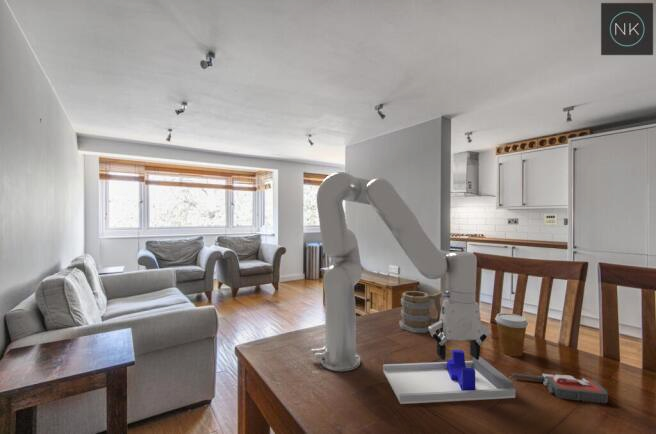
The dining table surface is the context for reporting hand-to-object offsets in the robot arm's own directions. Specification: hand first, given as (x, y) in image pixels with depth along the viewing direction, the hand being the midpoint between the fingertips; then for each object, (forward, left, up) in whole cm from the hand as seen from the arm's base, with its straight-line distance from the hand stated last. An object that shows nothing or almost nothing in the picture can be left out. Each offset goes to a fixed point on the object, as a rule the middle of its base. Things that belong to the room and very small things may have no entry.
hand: (458, 357), depth 82 cm
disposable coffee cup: (+28, +16, -7) cm, 33 cm away
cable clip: (0, 0, -7) cm, 7 cm away
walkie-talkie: (+25, -6, -8) cm, 27 cm away
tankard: (+8, +41, -7) cm, 42 cm away
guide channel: (-4, 0, -7) cm, 8 cm away
